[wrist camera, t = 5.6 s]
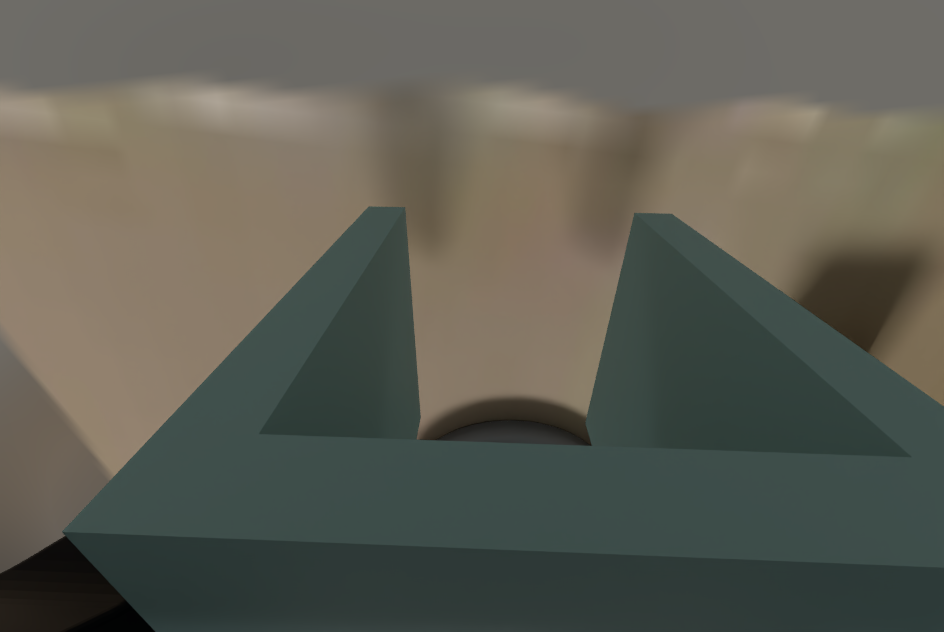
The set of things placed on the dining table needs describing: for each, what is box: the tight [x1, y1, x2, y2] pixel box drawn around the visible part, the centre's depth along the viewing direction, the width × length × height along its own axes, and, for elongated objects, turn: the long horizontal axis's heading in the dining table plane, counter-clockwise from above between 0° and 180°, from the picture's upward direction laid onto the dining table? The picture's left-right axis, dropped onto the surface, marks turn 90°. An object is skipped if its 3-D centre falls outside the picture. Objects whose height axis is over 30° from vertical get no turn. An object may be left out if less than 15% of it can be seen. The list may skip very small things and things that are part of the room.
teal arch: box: [62, 207, 944, 632], centre depth 7 cm, size 7×6×7 cm
